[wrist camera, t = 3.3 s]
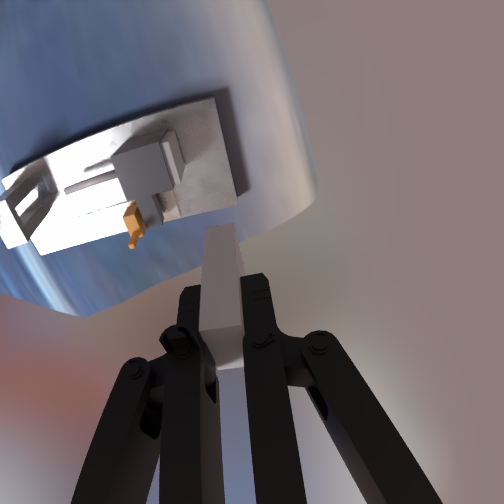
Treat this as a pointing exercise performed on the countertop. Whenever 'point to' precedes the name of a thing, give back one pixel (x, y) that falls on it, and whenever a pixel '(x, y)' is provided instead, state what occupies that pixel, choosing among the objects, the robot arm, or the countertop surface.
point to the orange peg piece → (134, 224)
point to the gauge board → (114, 181)
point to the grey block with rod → (143, 172)
